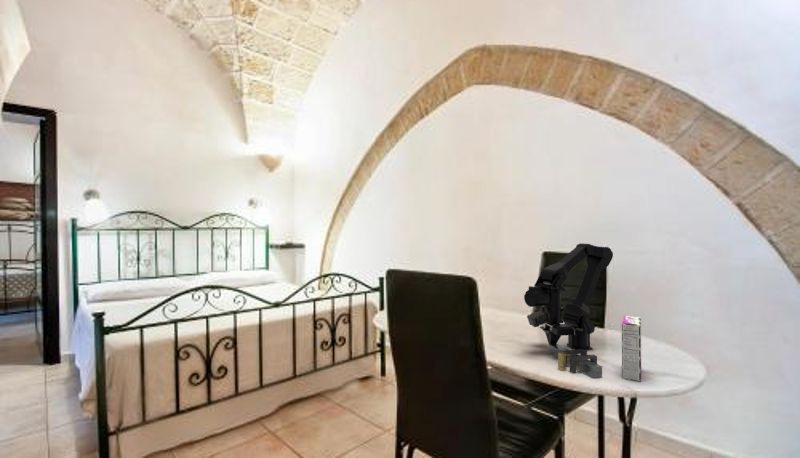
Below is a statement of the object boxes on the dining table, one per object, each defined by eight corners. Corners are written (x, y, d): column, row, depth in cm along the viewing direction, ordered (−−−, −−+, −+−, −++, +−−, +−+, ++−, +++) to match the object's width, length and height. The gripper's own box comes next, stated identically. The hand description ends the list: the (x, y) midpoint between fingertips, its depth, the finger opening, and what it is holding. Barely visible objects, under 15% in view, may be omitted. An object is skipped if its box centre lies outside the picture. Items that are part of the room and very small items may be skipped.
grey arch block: (583, 364, 126) (583, 349, 126) (586, 365, 124) (586, 350, 124) (560, 365, 124) (560, 350, 124) (563, 367, 123) (563, 352, 123)
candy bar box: (622, 366, 123) (623, 315, 123) (641, 370, 121) (641, 316, 120) (620, 378, 114) (621, 322, 114) (641, 382, 111) (641, 324, 111)
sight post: (568, 368, 122) (568, 352, 122) (571, 369, 121) (571, 353, 121) (558, 368, 122) (558, 352, 122) (560, 370, 120) (561, 354, 120)
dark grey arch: (593, 369, 121) (593, 354, 121) (597, 371, 119) (597, 356, 119) (569, 371, 120) (569, 355, 119) (572, 373, 118) (572, 357, 118)
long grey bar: (549, 353, 136) (549, 344, 136) (557, 353, 136) (557, 344, 136) (592, 378, 114) (592, 367, 114) (602, 377, 115) (602, 366, 115)
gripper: (518, 299, 145) (518, 341, 145) (544, 310, 127) (543, 358, 127) (546, 299, 147) (546, 340, 147) (576, 309, 128) (575, 357, 128)
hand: (551, 348), depth 137 cm, fingers closed
